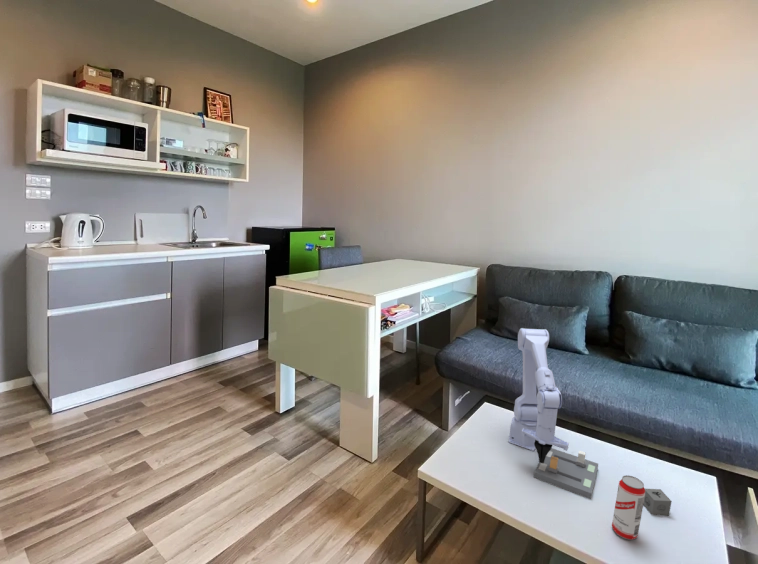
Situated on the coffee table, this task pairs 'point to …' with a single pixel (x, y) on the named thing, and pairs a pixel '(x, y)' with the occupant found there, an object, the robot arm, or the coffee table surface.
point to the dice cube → (657, 502)
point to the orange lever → (553, 465)
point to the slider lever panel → (568, 473)
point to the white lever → (581, 459)
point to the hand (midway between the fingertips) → (541, 461)
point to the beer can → (628, 507)
